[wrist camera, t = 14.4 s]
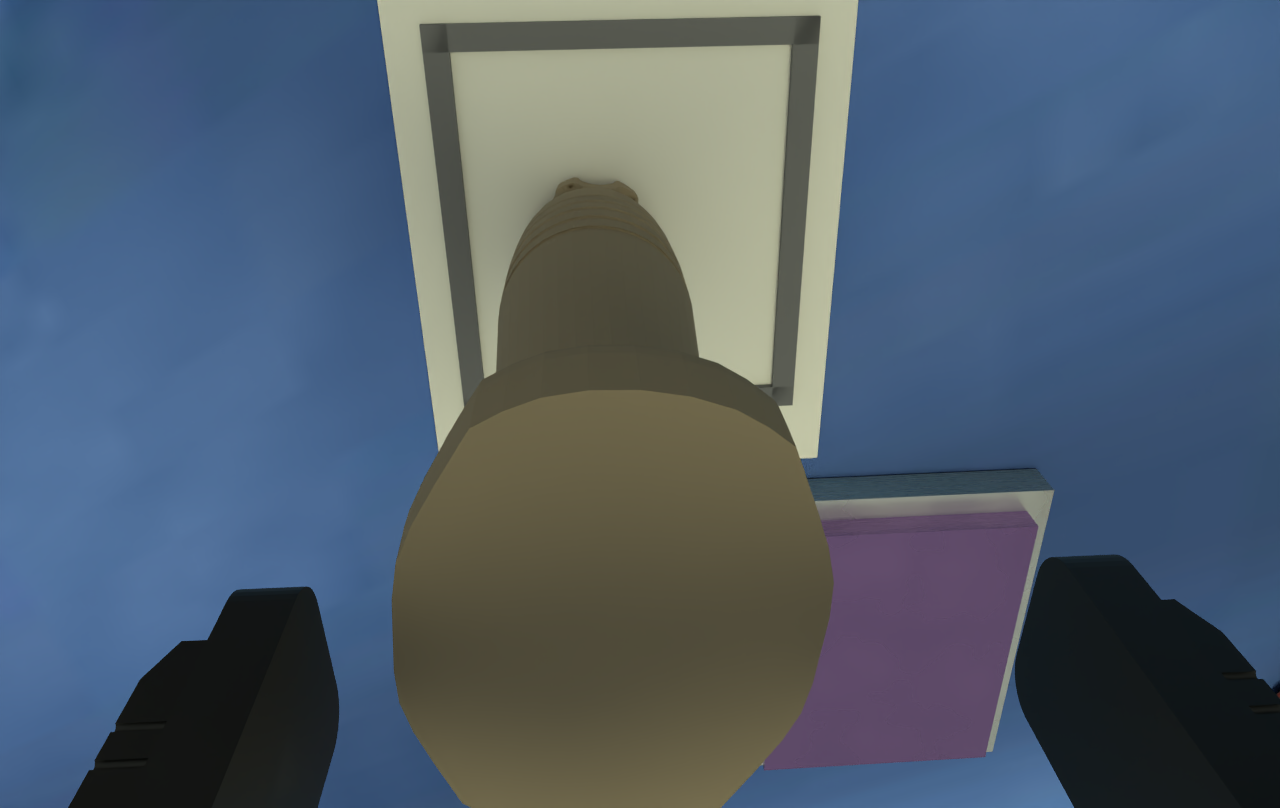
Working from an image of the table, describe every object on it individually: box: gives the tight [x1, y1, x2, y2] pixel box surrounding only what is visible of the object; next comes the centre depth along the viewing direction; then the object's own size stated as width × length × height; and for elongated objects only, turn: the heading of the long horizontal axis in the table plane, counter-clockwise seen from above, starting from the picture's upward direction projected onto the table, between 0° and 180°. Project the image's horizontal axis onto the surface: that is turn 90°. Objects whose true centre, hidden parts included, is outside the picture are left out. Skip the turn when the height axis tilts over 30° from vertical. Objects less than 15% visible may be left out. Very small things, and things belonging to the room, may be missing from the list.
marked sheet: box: [377, 0, 858, 458], centre depth 24 cm, size 14×11×1 cm
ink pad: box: [761, 469, 1054, 770], centre depth 30 cm, size 11×9×2 cm
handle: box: [392, 177, 834, 808], centre depth 17 cm, size 5×6×15 cm
